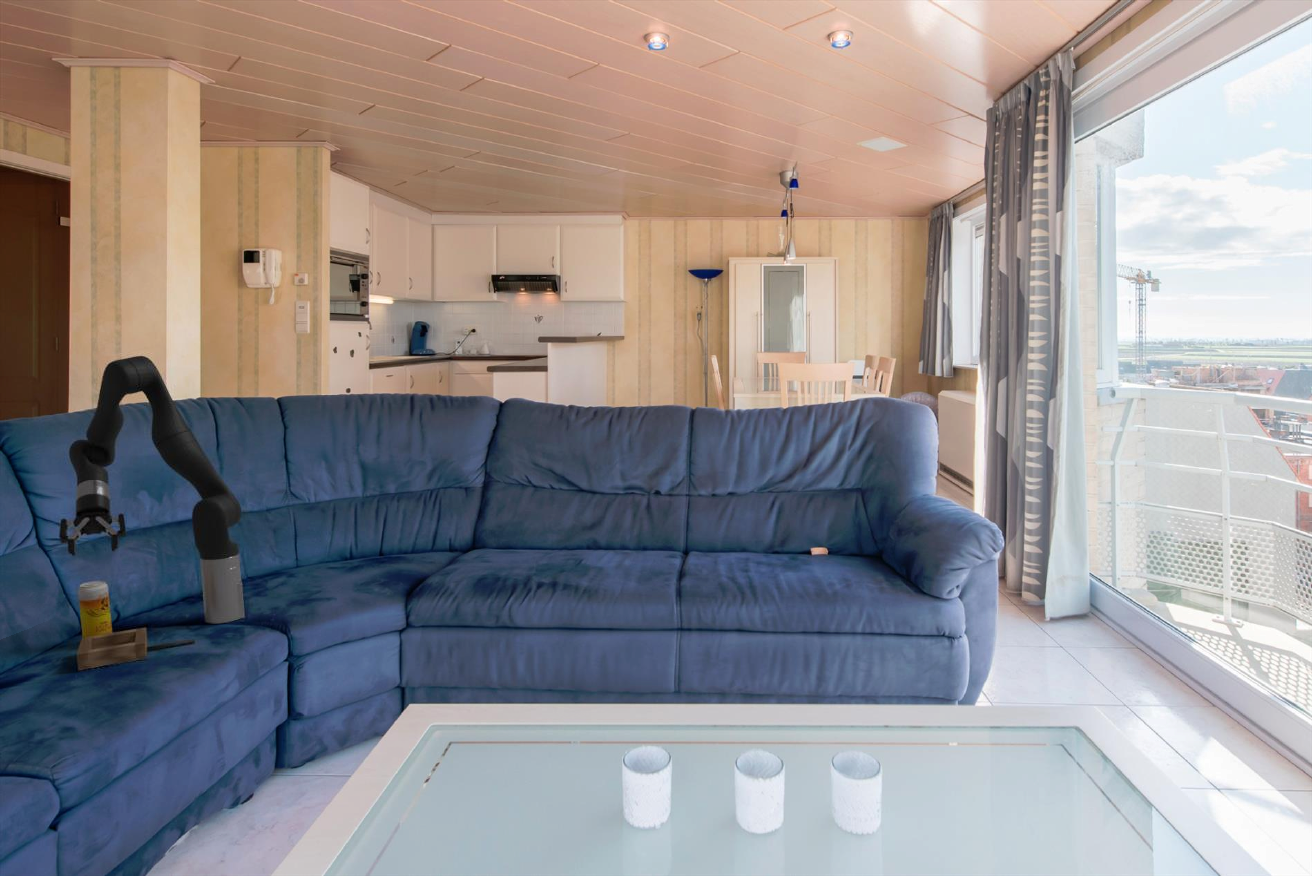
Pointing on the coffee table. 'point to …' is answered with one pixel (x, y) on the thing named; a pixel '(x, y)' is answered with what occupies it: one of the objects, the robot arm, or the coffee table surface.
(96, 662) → the walnut collar
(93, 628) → the soda can
